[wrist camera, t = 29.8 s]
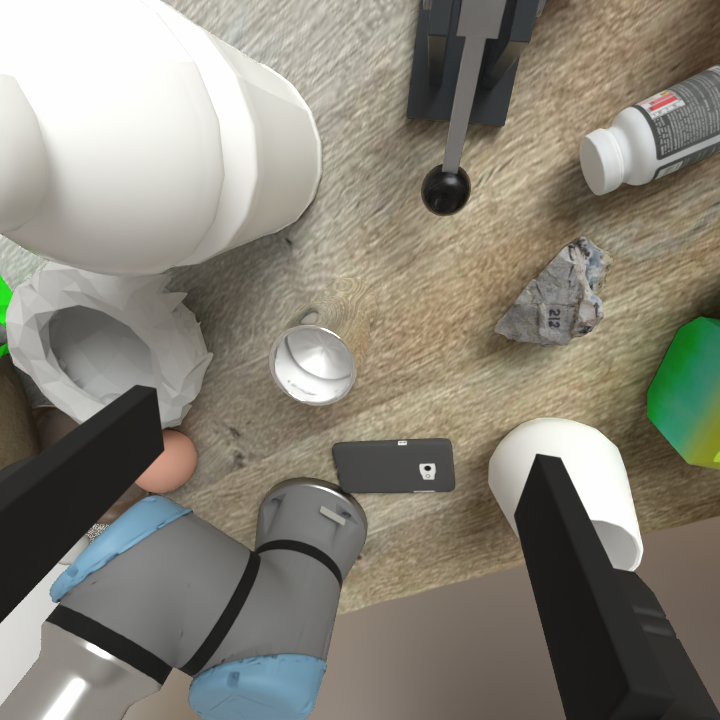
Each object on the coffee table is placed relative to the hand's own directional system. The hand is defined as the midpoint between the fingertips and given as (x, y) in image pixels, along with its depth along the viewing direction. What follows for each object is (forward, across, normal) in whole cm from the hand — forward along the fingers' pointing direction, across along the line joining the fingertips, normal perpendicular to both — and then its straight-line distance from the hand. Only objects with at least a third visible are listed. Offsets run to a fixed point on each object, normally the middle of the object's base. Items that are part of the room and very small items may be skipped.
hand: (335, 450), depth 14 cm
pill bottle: (+26, -23, -16) cm, 38 cm away
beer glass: (+29, +4, +4) cm, 30 cm away
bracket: (+29, -3, -18) cm, 34 cm away
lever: (+20, -3, -14) cm, 25 cm away
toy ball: (+27, +23, +25) cm, 43 cm away
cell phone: (+28, -3, +24) cm, 37 cm away
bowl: (+30, +28, +11) cm, 42 cm away
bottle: (+29, +15, -9) cm, 34 cm away
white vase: (+29, -20, +18) cm, 40 cm away
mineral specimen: (+29, -15, 0) cm, 33 cm away
